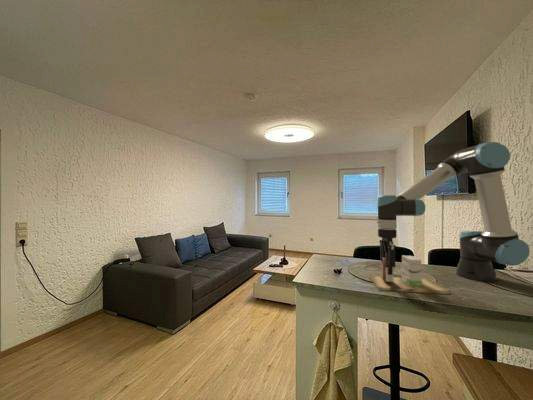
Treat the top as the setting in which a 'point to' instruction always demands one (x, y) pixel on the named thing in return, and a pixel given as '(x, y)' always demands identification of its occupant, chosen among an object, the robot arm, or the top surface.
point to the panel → (400, 285)
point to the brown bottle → (384, 268)
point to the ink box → (411, 271)
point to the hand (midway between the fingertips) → (387, 279)
